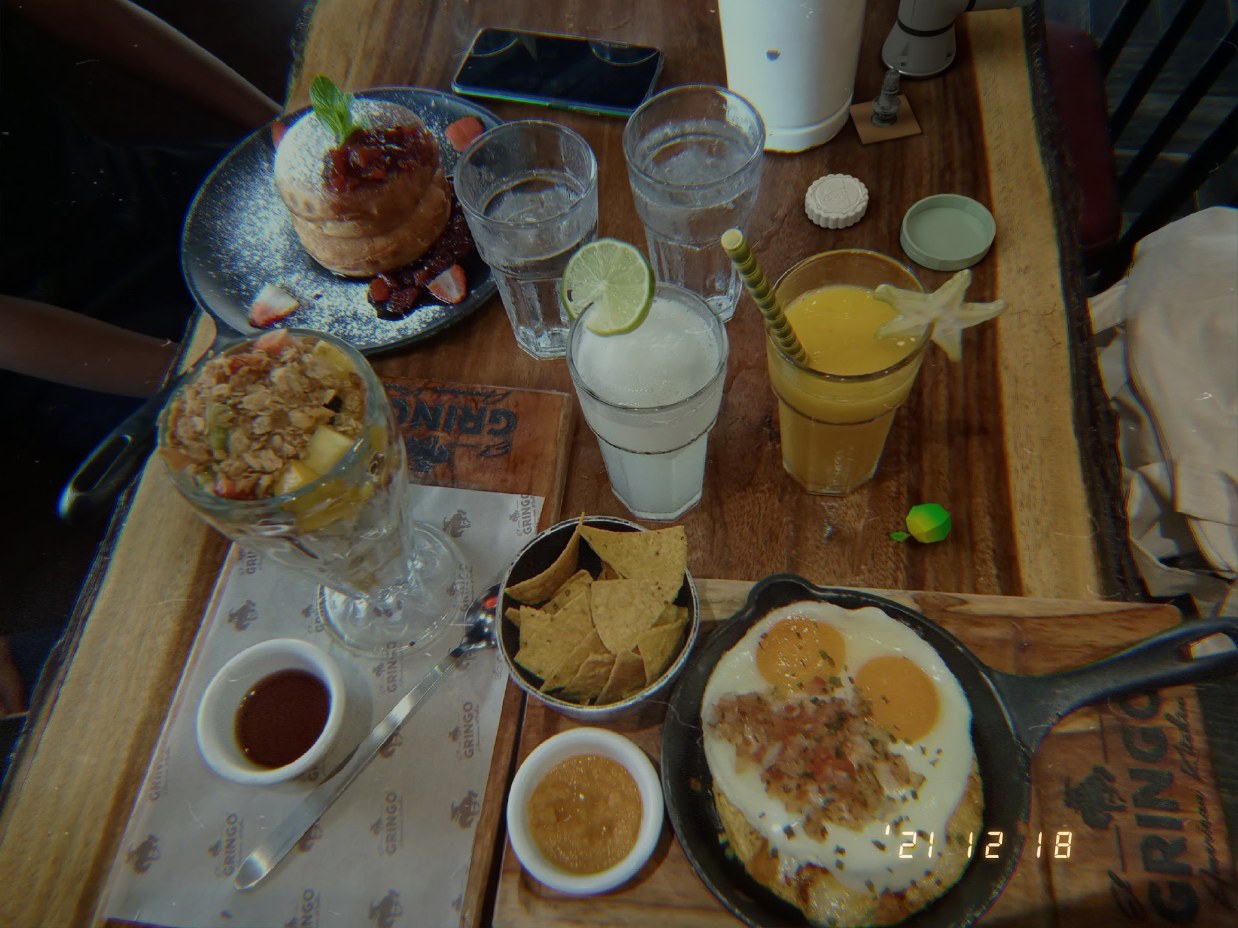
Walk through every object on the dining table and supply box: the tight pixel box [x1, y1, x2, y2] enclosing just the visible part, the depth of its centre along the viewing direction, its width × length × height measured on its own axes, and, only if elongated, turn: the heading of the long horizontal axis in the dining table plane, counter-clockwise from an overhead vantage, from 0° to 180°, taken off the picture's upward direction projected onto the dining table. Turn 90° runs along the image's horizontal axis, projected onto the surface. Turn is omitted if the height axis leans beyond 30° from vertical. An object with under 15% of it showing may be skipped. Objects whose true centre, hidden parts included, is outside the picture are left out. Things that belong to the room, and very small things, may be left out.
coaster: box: [849, 93, 922, 146], centre depth 154 cm, size 12×12×1 cm
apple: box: [889, 502, 953, 544], centre depth 112 cm, size 7×6×9 cm
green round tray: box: [899, 193, 997, 272], centre depth 138 cm, size 16×16×3 cm
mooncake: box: [804, 173, 869, 230], centre depth 144 cm, size 12×12×4 cm
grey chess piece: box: [871, 67, 902, 128], centre depth 149 cm, size 6×6×12 cm
